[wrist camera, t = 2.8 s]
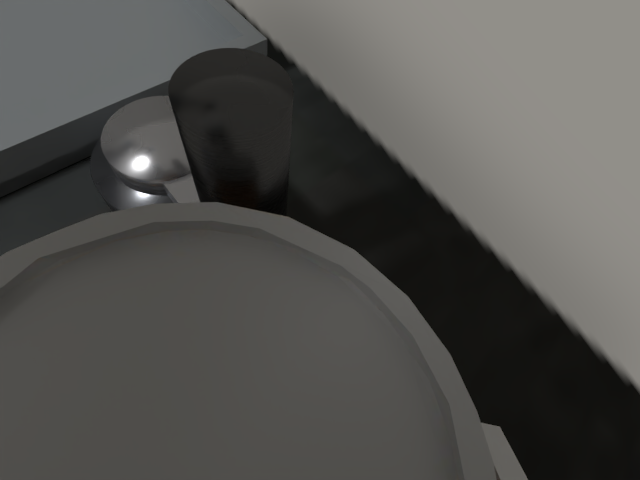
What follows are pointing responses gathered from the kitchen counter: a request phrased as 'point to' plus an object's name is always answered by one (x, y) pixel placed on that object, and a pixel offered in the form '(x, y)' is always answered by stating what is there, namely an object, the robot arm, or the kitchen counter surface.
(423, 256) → the kitchen counter surface
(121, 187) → the crank base
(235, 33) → the tray
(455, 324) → the kitchen counter surface
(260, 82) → the crank
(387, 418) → the disposable coffee cup
